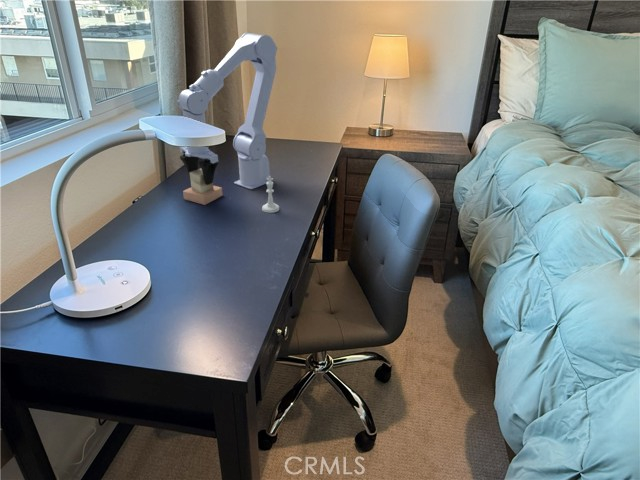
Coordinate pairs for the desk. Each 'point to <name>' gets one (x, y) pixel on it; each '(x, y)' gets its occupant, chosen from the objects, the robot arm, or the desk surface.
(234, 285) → the desk surface
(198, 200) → the block
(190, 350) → the desk surface
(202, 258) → the desk surface
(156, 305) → the desk surface
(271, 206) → the chess piece
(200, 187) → the metal block
